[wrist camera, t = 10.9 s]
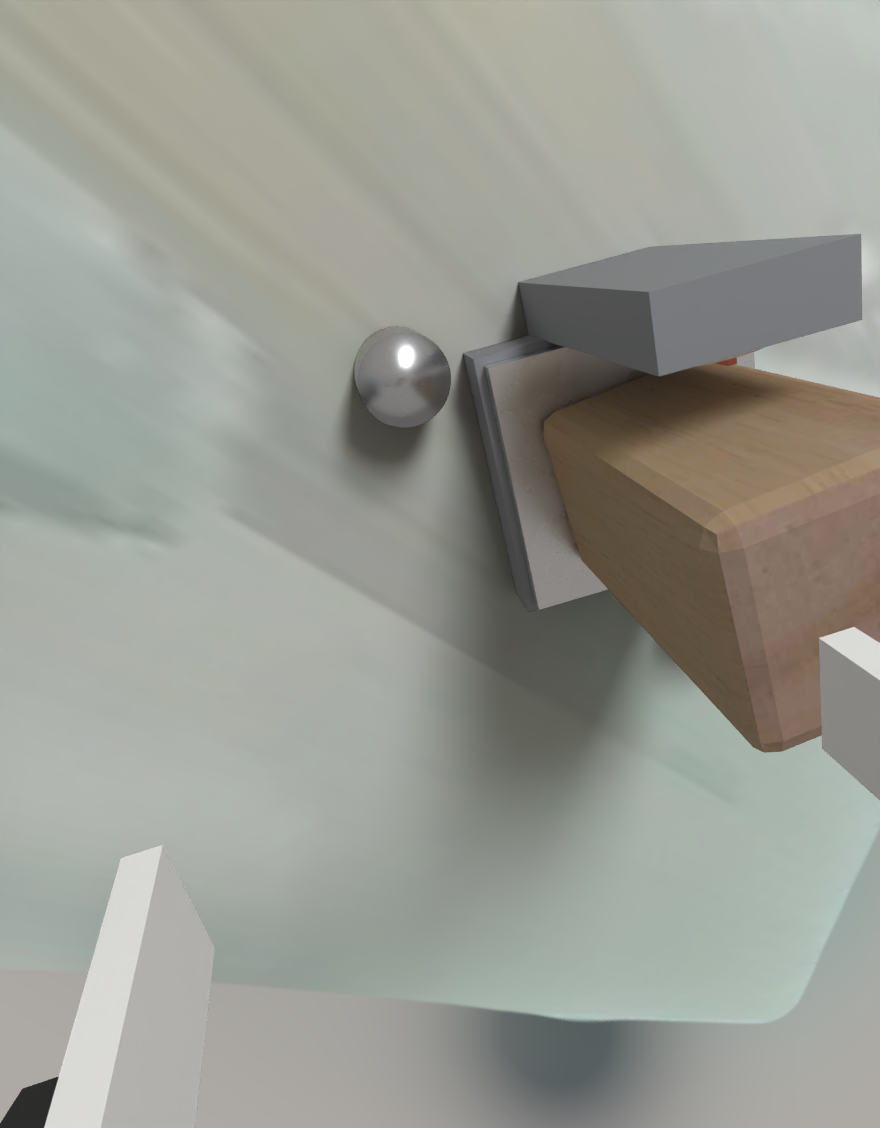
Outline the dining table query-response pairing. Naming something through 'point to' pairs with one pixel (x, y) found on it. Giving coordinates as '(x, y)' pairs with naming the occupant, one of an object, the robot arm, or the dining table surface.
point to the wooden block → (731, 527)
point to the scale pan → (520, 410)
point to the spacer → (402, 376)
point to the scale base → (671, 321)
